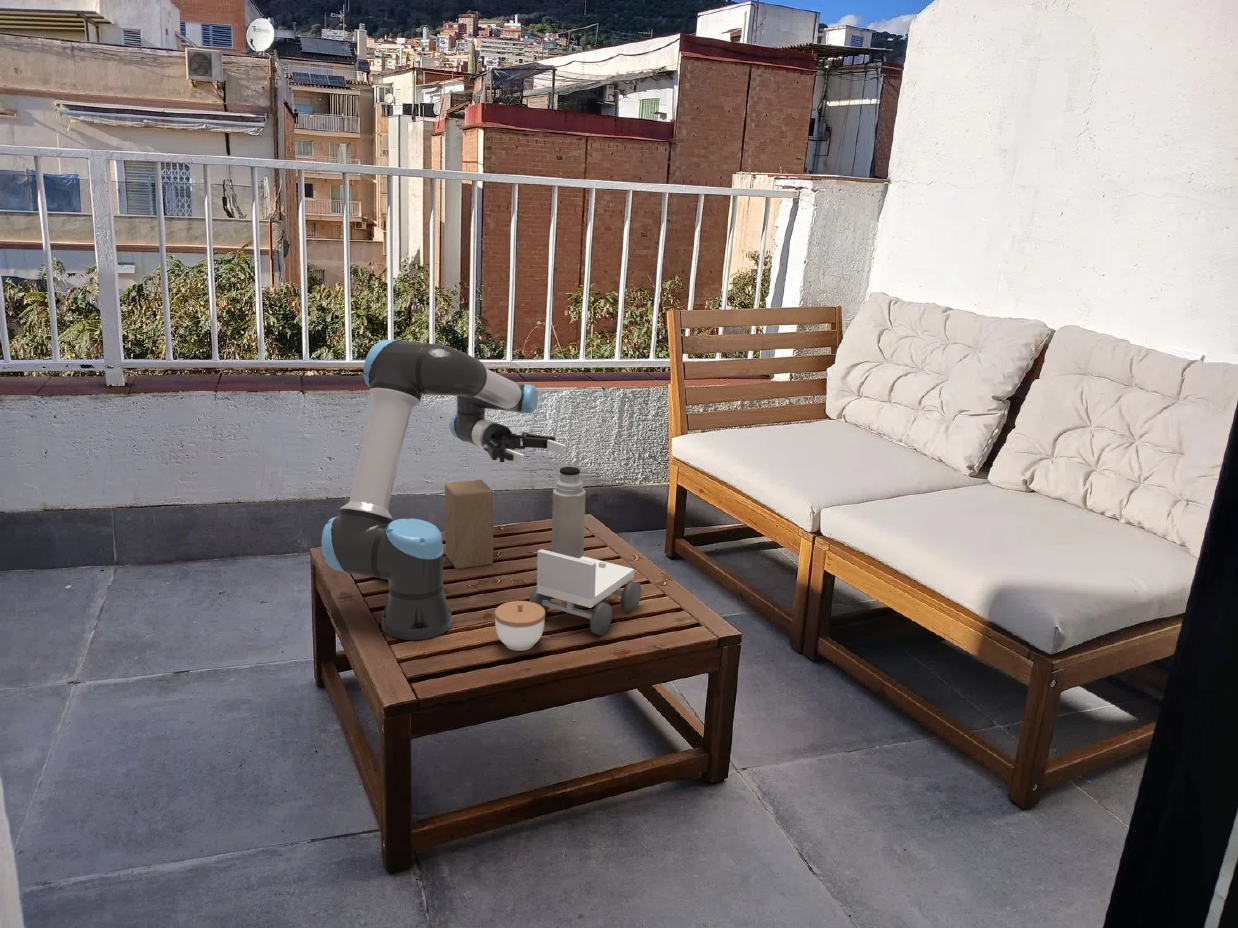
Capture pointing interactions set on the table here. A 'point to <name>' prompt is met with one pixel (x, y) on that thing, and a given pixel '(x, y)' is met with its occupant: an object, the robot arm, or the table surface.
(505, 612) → the lidded jar
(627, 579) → the trolley
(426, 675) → the table surface
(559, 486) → the thermos bottle
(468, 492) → the wooden block
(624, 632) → the table surface
